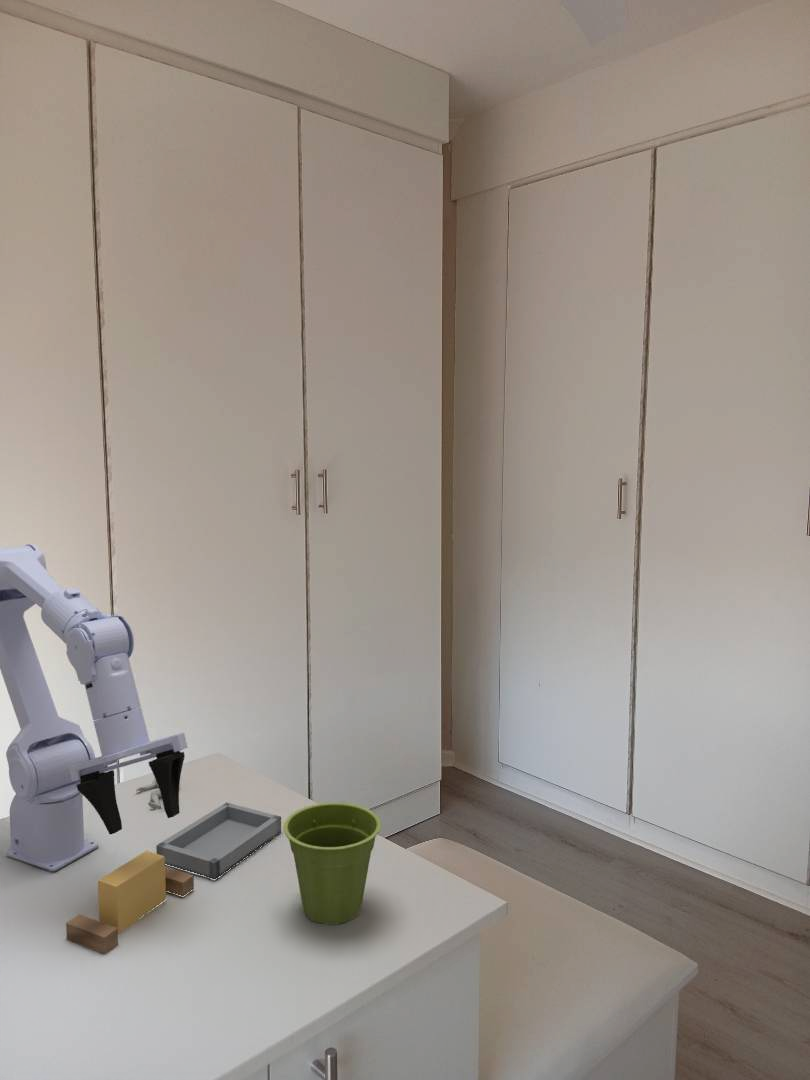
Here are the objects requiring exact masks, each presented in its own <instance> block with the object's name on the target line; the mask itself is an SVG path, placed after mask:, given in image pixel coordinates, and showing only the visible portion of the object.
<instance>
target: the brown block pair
mask: <svg viewBox="0 0 810 1080" xmlns="http://www.w3.org/2000/svg"><path fill="white" fill-rule="evenodd" d="M194 875H195V874H191V873H188V872H185V871H182V870H179V869H175V868H172V867H169V866H165V884H166V891H169V892H171V893H175V894H178V895H181V896H184V895H186V894H187V893H188V892H190V891H191V890H193V889H194V890H195V883H194V882H195V879H194V878H195V877H194ZM194 890H193V891H194ZM171 893H170V894H171ZM186 896H187V895H186ZM65 928H66V932H65V933H66V940H68V941H71V942H74V943H76V944H78V945H80V946H84V947H86V948H89V949H91V950H94V951H96V952H99V953H100V954H104V955H106V954H107V953H108V952H110V951H112V949H114V948H115V947H117V946H119V934H118V928H116V927H113V926H110V925H108V924H105V923H102V922H99V920H97V919H95V918H94V919H93V918H90V917H88V916H86V915H83V914H78V915H76V916H75V917H73V918H71V919H70V920H69V921H67V922H66V923H65Z"/></svg>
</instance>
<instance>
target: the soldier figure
mask: <svg viewBox="0 0 810 1080" xmlns="http://www.w3.org/2000/svg"><path fill="white" fill-rule="evenodd" d="M153 789H154V790H153ZM150 790H151V792H150V801H149V802H148V803H147V804H148V806H149V807H150V808H152V809H157V810H159V809H162V804H161V803H160V800H159V798H160V797H161V798H162V796H161V792H160V789H159V786H158V784H157V781H156V779H155V778H154V779H153V780H152V783H150V784H147V785H145V786H140V787H138V788H137V789H136V790H135V792H136V793H137V792H138V791H139V794H141V793H142V791H144V792H147V791H150ZM152 790H153V791H152Z"/></svg>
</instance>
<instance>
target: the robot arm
mask: <svg viewBox="0 0 810 1080" xmlns="http://www.w3.org/2000/svg"><path fill="white" fill-rule="evenodd" d="M35 605H37V606H38V607H39V608H41V611H40V617H41V620H42V622H43V623H44V624H45V625H46V626H47V627H48V628H49V629H50V630H51V631H52V632H53V633H54V634H55V635H56V636H57V637H58V638H59V639H60V640H61V641H62V642H63V643H64V644H65V645H66V651H65V652H66V656H67V659H68V661H69V663H70V665H71V666H72V667H73V669H74V670H75V673H76V675H77V676H76V677H77V681H79V683H80V685H84V687H85V691H86V697H87V700H88V705H89V708H90V713H91V716H92V721H93V724H94V728H95V733H96V738H97V742H98V746H99V748H100V749H99V750H100V754H101V756H98V757H96V756H95V755H96V754H95V751H94V749H93V747H92V745H91V744H90V741H88V740H87V738H86V737H85V735H84V733H83V730H82V728H81V726H80V725H79V724H77V723H76V722H73V721H72V720H71V721H70V720H68V719H65V718H63V717H61V716H59V714H58V711H57V709H56V706H55V703H54V700H53V697H52V693H51V692H50V691H51V690H50V688H49V686H48V683H47V680H46V677H45V674H44V672H43V668H42V666H41V663H40V660H39V657H38V655H37V651H36V649H35V646H34V643H33V641H32V638H31V635H30V633H29V632H30V631H29V629H28V627H27V623H26V620H25V617H24V615H25V613H26V611H28V610H29V609H31V608H32V607H33V606H35ZM134 647H135V639H134V633H133V630H132V627H131V625H130V623H129V622H128V621H127V619H125V617H124V615H121V614H114V615H111V614H109V613H108V614H104V613H103V612H102V611H101V610H100V609H99V608H98V607H96V606H95V605H94V604H93V603H92V602H91V601H90V600H88V599H87V598H86V597H85V596H84V595H83V594H81V591H79V590H78V588H74V587H73V588H63V587H62V586H61V585H60V584H59V583H58V581H57V580H56V579H55V578H54V577H53V576H52V575H51V574H50V572H49V571H48V570H47V562H46V558H45V554H44V552H43V551H41V549H40V548H39V547H38V546H37V545H35V544H33V543H29V544H25V545H19V546H10V547H9V546H8V547H0V672H1V675H2V679H3V681H4V684H5V687H6V690H7V693H8V696H9V699H10V702H11V705H12V708H13V711H14V715H15V717H16V719H17V722H18V726H19V728H20V731H19V732H18V733H17V735H16V736H15V737H14V738H13V740H11V742H10V744H9V746H8V747H7V748H6V749H7V750H6V752H5V754H6V755H5V757H6V760H7V764H8V765H7V766H8V774H9V775H8V776H9V777H8V778H9V781H10V785H11V788H12V790H13V791H14V793H15V795H14V796H13V797H12V800H11V803H10V806H9V827H10V829H9V831H10V846H11V849H9V850H7V851H6V852H5V855H6V856H7V857H10V858H12V859H15V860H18V861H21V862H24V863H26V864H30V865H32V866H36V867H38V868H41V869H44V870H48V871H50V872H56V871H58V870H59V869H61V868H63V867H65V866H67V865H69V864H71V863H72V862H74V861H76V860H77V859H79V858H81V857H83V856H84V855H86V854H88V853H90V852H91V851H94V850H95V849H97V848H98V847H99V842H96V841H93V840H91V839H87V838H85V828H84V806H83V805H84V804H83V797H84V798H86V800H87V801H88V802H89V803H90V804H91V806H92V807H93V808H94V810H95V811H96V813H97V814H98V816H99V817H100V819H101V821H102V823H103V824H104V827H105V828H106V830H107V832H108V835H113V834H116V833H117V832H120V831H121V830H123V826H122V824H123V823H122V818H121V814H120V811H119V807H118V803H117V796H116V788H115V771H114V770H116V769H119V768H123V767H126V766H130V765H133V764H137V763H140V762H144V761H147V760H150V759H151V760H150V761H148V766H149V767H150V770H151V771H152V774H153V777H154V779H156V781H157V784H158V786H159V789H160V792H161V800H162V804H163V808H164V812H165V815H166V816H167V819H170V818H173V817H175V816H177V815H179V814H180V782H181V775H182V769H183V765H184V760H185V752H184V751H182V750H185V749H187V748H189V746H188V742H187V740H186V735H185V732H180V733H176V734H173V735H170V736H167V737H163V738H159V739H155V740H152V741H150V738H149V733H148V729H147V726H146V721H145V717H144V715H143V709H142V706H141V702H140V698H139V694H138V693H139V692H138V690H137V685H136V682H135V678H134V674H133V670H132V666H131V662H130V657H131V656H132V655H133V652H134ZM134 755H139V757H136V758H133V759H130V760H126V761H122V762H119V763H117V762H118V760H121V759H124V758H128V757H132V756H134ZM152 759H153V760H152ZM158 786H157V787H158Z"/></svg>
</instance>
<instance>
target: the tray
mask: <svg viewBox="0 0 810 1080" xmlns="http://www.w3.org/2000/svg"><path fill="white" fill-rule="evenodd" d="M280 834H282V816H280V815H276V814H273V813H268V812H264V811H261V810H256V809H253V808H249V807H245V806H241V805H237V804H234V803H231V802H225V803H223V804H221V805H220V806H218V807H216V808H215V809H213V810H212V811H210V812H209V813H207V814H205V815H204V816H202V817H200V818H199V819H197V820H196V821H194V822H192V823H191V824H189V825H187V826H186V827H184V828H182V829H181V830H179V831H177V832H176V833H174V834H172V835H171V836H169V837H168V838H166V839H165V840H163V841H161V842H159V843H158V844H156V845H155V846H156V847H155V848H156V854H159V855H162V856H165V864H167V865H170V866H174V867H177V868H180V869H183V870H187V871H190V872H194V873H197V874H200V875H204V876H206V877H209V878H212V879H216V878H218V877H219V876H221V875H222V874H223V873H224V872H226V871H228V870H229V869H230V868H232V867H233V866H234V865H236V864H237V863H239V862H240V861H242V860H243V859H244V858H246V857H247V856H249V855H250V854H252V853H253V852H254V851H255V850H257V849H258V848H260V847H261V846H263V845H264V844H265V843H267V842H268V841H269V842H271V841H272V840H274V839H275V838H277V837H278V836H279V835H280ZM277 835H278V836H277ZM274 837H275V838H274ZM273 838H274V839H273ZM270 840H271V841H270ZM269 842H268V843H269ZM268 843H267V844H268ZM265 845H266V844H265ZM265 845H264V846H265ZM264 846H263V847H264ZM261 848H262V847H261ZM261 848H260V849H261ZM258 850H259V849H258ZM258 850H257V851H258ZM254 853H255V852H254ZM254 853H253V854H254ZM253 854H252V855H253ZM250 856H251V855H250ZM250 856H249V857H250ZM247 858H248V857H247ZM247 858H246V859H247ZM243 861H244V860H243ZM243 861H242V862H243ZM239 864H240V863H239ZM236 866H237V865H236ZM232 869H233V868H232ZM228 872H229V871H228ZM221 877H222V876H221Z"/></svg>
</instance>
